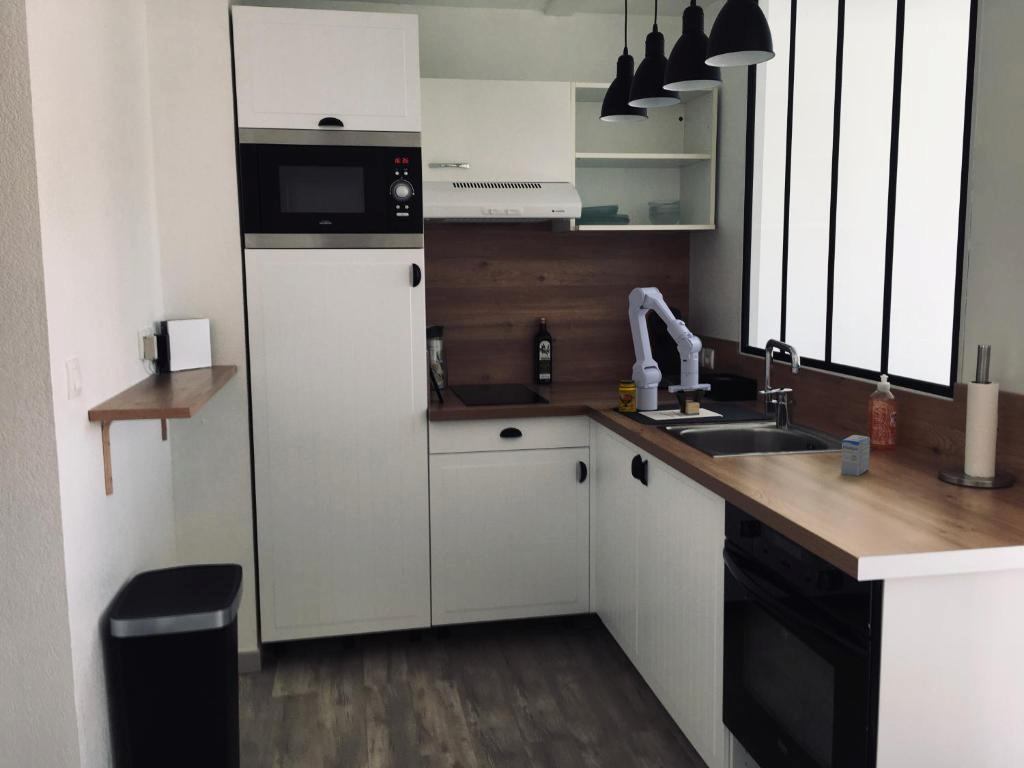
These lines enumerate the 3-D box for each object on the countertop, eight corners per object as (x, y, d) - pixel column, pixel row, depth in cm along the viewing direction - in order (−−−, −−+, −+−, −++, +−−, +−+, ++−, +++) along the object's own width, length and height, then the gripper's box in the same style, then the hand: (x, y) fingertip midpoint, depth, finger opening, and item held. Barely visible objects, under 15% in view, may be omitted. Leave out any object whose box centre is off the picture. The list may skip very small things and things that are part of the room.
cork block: (679, 412, 309) (679, 401, 308) (690, 411, 310) (690, 400, 309) (688, 415, 302) (688, 403, 301) (699, 414, 303) (699, 403, 302)
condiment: (622, 416, 312) (622, 382, 310) (612, 412, 320) (612, 379, 318) (641, 414, 314) (641, 380, 312) (631, 411, 322) (631, 378, 320)
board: (638, 415, 311) (638, 412, 311) (702, 411, 317) (702, 408, 317) (656, 423, 296) (656, 419, 296) (722, 418, 301) (722, 415, 301)
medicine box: (851, 468, 228) (852, 434, 226) (869, 470, 225) (870, 436, 224) (840, 474, 222) (841, 439, 220) (858, 476, 219) (859, 441, 218)
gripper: (674, 374, 298) (674, 415, 300) (714, 372, 302) (714, 412, 303) (666, 372, 305) (666, 411, 307) (705, 370, 308) (705, 409, 310)
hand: (689, 412), depth 306 cm, fingers closed on cork block, 4 cm apart
